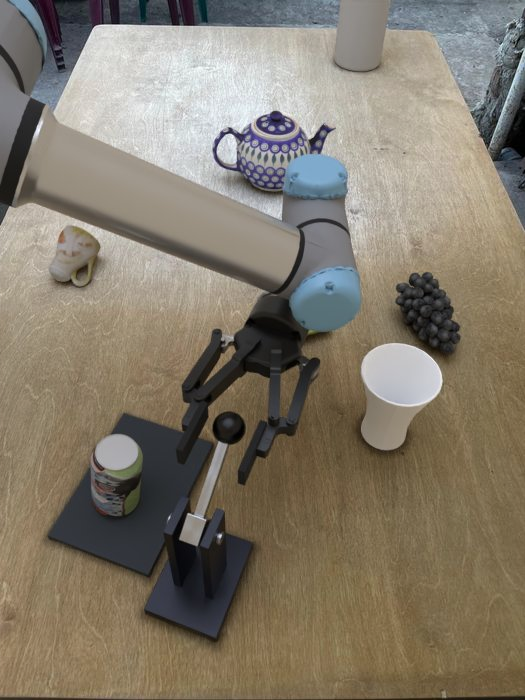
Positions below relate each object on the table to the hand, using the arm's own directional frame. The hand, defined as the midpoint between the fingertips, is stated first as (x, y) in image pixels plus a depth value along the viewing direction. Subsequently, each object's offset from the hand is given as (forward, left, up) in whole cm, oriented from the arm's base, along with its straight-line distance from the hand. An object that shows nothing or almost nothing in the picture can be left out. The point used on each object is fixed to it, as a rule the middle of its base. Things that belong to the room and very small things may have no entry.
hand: (210, 467), depth 64 cm
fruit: (+18, +47, -20) cm, 54 cm away
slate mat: (-13, +4, -20) cm, 24 cm away
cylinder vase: (-17, +139, -20) cm, 141 cm away
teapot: (-20, +79, -20) cm, 83 cm away
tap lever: (0, +1, -4) cm, 4 cm away
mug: (-43, +39, -20) cm, 61 cm away
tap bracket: (0, -4, -20) cm, 20 cm away
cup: (+16, +25, -20) cm, 35 cm away
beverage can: (-14, +1, -19) cm, 23 cm away
